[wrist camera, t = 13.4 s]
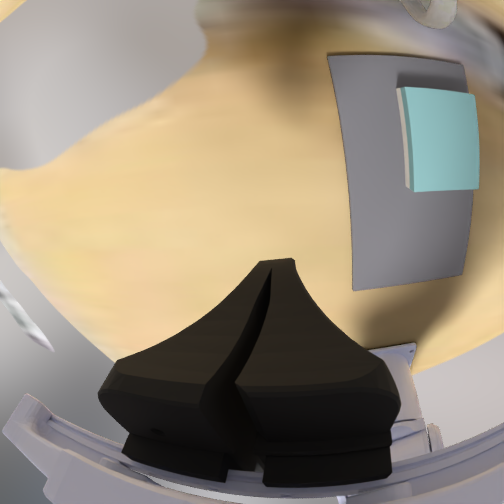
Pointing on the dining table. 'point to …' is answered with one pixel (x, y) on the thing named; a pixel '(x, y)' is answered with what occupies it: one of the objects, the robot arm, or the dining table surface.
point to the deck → (439, 139)
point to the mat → (395, 175)
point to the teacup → (432, 12)
